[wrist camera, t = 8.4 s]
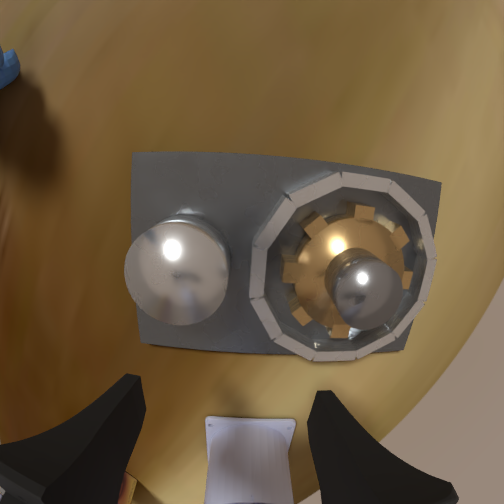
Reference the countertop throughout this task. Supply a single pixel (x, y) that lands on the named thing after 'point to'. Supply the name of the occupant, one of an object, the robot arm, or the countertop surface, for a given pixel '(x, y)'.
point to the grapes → (8, 67)
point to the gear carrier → (258, 249)
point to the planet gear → (347, 271)
